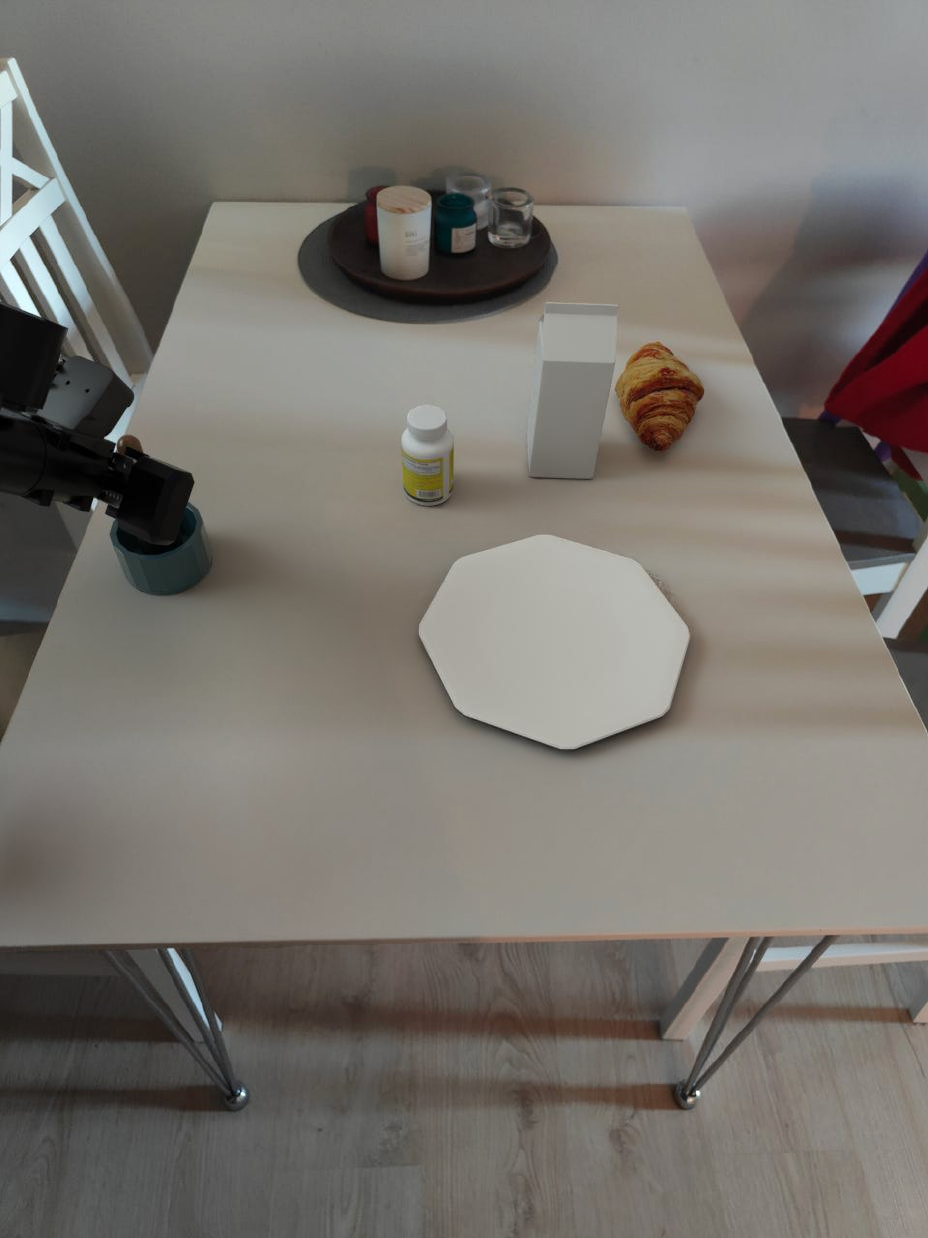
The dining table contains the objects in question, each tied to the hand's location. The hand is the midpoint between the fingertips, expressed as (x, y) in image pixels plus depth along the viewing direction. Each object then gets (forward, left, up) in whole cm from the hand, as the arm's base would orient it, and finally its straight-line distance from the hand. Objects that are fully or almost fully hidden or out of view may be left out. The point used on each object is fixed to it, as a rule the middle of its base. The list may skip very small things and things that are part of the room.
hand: (154, 483), depth 78 cm
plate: (+36, -12, -10) cm, 39 cm away
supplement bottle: (+25, +9, -10) cm, 28 cm away
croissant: (+53, +23, -10) cm, 59 cm away
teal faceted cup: (-1, -1, -9) cm, 9 cm away
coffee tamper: (-1, -1, -7) cm, 7 cm away
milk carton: (+40, +14, -10) cm, 44 cm away
